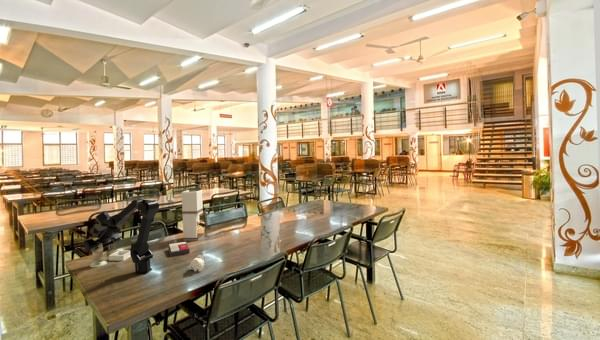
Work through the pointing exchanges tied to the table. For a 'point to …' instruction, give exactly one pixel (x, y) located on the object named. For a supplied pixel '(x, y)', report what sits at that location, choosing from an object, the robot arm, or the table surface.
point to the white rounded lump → (197, 263)
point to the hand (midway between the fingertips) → (95, 249)
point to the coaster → (98, 264)
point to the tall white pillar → (191, 214)
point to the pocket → (120, 255)
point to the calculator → (178, 249)
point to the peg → (98, 254)
